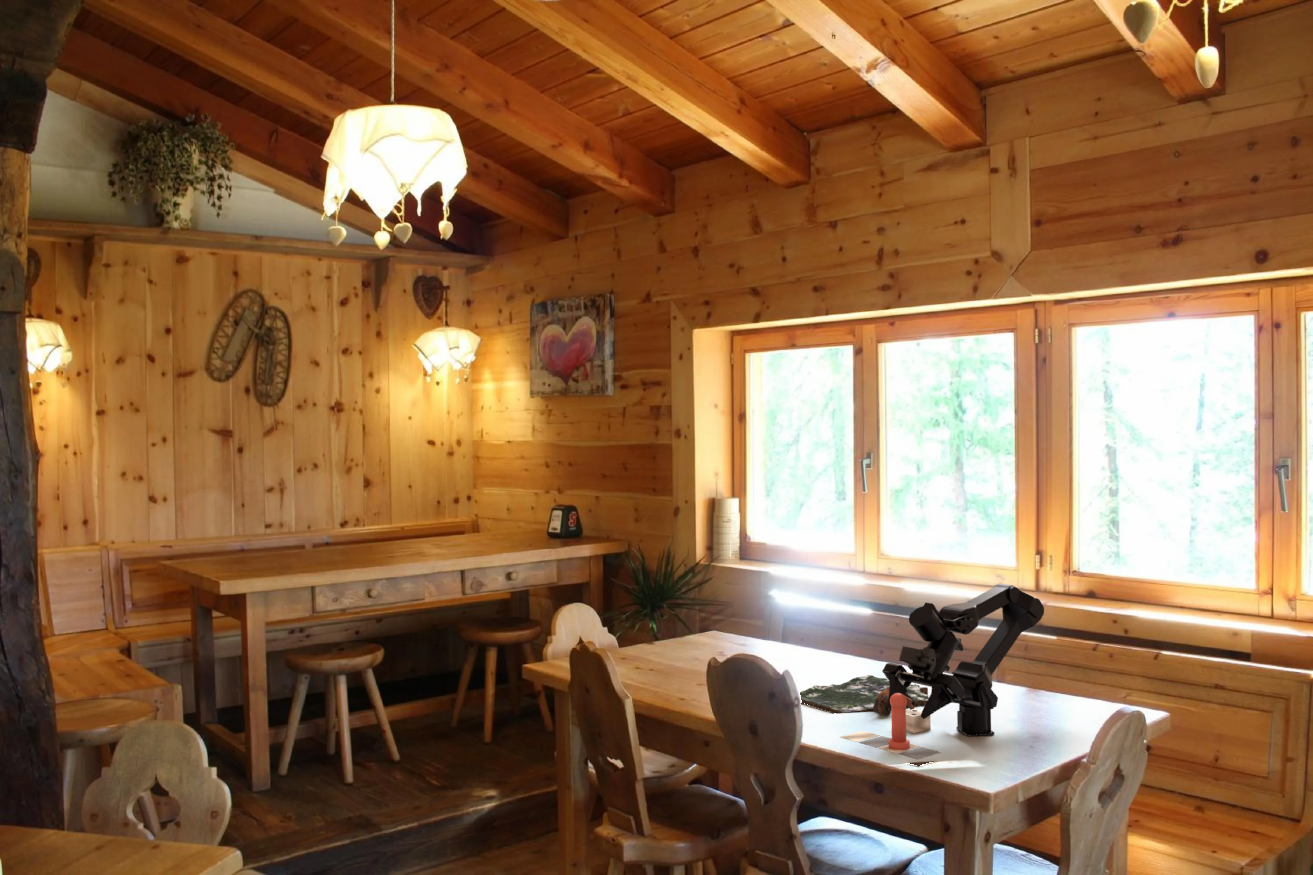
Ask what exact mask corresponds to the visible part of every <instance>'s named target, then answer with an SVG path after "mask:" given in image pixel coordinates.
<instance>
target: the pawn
mask: <svg viewBox="0 0 1313 875" xmlns="http://www.w3.org/2000/svg"><path fill="white" fill-rule="evenodd" d="M890 705H891V713H890V715H891V739H889V744H888V745H889V748H891V749H894V750H907V749H909V748H910V744H911V742H910V739H908V738H907V730H906V710H907V708H906V705H907V699H906V697H905V696H904V695H903V694H901V693H895V694H893V695H892V696H891V698H890ZM907 751H908V750H907Z"/></svg>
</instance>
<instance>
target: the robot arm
mask: <svg viewBox="0 0 1313 875" xmlns="http://www.w3.org/2000/svg"><path fill="white" fill-rule="evenodd" d="M1000 609H1001V612H1002V614H1001V615H1002V621H1001V622H1000V623H999V624H998V627H996V629H995V630H994V632H993V633H992V635H991V636H990V637H989V638H988V640H987V642H986V643H985V645H983V647H982V648H981V650H979V652H978V654H977V656H976V657H975V658H974V659H973V661H972V662H969V661H964V660H963V661H961V662H959V663H958V665H957V667H956V668H955V669H954V670H953V671H952V672H951V674H946V673H944V672H949V671H950V668H951V667H950V666H949V665H948V664H949V663H950V660H951V659H952V657H953V655H954V654H955V651H960V652H963V651H964V645H963V644H962V639H961V638H959V637H957V636H956V635H955V634H959V635H969V634H971V633H972V632H973V631H974V630H975V629H976V628H977V627H978V626H979V623H980V620H982V619H983V618H985V617H987V616H989V615H991V614H993V613H994V612H996V611H998V610H1000ZM1044 614H1045V608H1044V605H1043V603H1042V602H1041V600H1040V598H1038V597H1034V596H1033V595H1030V594H1028V593H1026V592H1024V591H1022V590H1020V589H1019V588H1018V587H1016V586H1015V585H1013V584H1004V583H997V584H995V585H994V586H993V587H992V588H989V590H987V591H985V592H983V593H981V594H979V595H977V596H976V597H973V598H972V599H969V600H968V601H966V602H965V601H964V602H960V603H952V604H948V605H944V606H943V607H941V609H940V610H939V611H938V609H937V608H936V606H935V604H934V603H931V602H925V603H924V605H922V606H919V607H916V609H914V610H913V611H911V612H910V614H909V617H908V622H909V624H910V625H911V627H912V628H913V629H914V630H915V632H916V633H917V634H918V636H919V637H920V638H921V639H922V641H924V642H927V643H926V646H925V647H923V648H915V647H908V646H906V645H905V646H904V645H903V646H902V647H901V651H900V654H899V658H898V660H899V661H900V662H904V663H906V664H907V668H908V669H909V670H910V671H912V673H911V672H909V671H907V670H906V668H905V667H904V666H903V665H902V664H898V663H893V662H888V663H886V664H885V665H884V667H883V669H882V671H881V672H882V673H883V675H884V676H885V678H886V679H887V680H888V681H889V683H890V690H889V697H888V705H887V708H888V709H889V710H891V705H890V698H891V696H892V695H893V694H895V693H901V694H903V695H905V694H906V692H907V691H908V690H907V689H906V688H907V687H909V686H910V684H911V685H912V683H913V684H916V685H920V686H921V685H922V686H924V687H931V690H930V691H931V692H930V695H929V696H928V698H929V699H928V701H927V703H926V705H925V706H923V709H922V710H921V711H922V713H921V717H922V718H923V719H925V718H927V717H928V716H930V717H931V715H933V714H934V713H935V712H937V711H939V710H941V709H942V708H944V707H946V706H948V705H949V704H951V703H952V704H958V707H959V708H958V709H959V710H957V712H956V714H957V717H956V718H957V725H956V729H957V731H960V733H962V734H964V735H965V736H968V737H975V736H976V737H977V736H992V735H995V734H996V732H994V731H993V730H992V711H991V710H994V709H995V708H997V706H998V701H999V698H998V696H997V695H996V693H995V692H994V691H993V690H992V687H993V674H994V672H995V671H996V670H997V668H998V667H999V666H1000V664H1001V662H1003V659H1004V658H1005V656H1006V655H1007V654H1008V652H1010V649H1011V648H1012V647H1013V646H1014V644H1015V643H1016V641H1017V639H1018V638H1019V636H1020V635H1021V634H1022V633H1023V632H1026V631H1028V630H1030V629H1032V628H1034V627H1035V626H1036V625H1037V624H1038V623H1039V622H1040V621H1041V619H1042V618H1043V616H1044ZM954 633H955V634H954Z"/></svg>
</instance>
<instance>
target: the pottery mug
mask: <svg viewBox="0 0 1313 875" xmlns="http://www.w3.org/2000/svg"><path fill="white" fill-rule="evenodd" d="M889 690H890V686H889V688H888V689H886V690H884V691H882V692H880V694H879V695H878V696H877V698H876V700H875V703H874V707H873V712H872V713H877V714H880V715H882V716H890V715H891V710H889V709H888V708H887V705H888V697H889ZM904 696H905V697H906V699H907V705H906V706H908V707H910V708H909V710H912V709H915V707H914V704H915V703H916V701H915V700H914V699H913V698H912V697H911V696H909V695H908V694H905V695H904Z"/></svg>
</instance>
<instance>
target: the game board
mask: <svg viewBox="0 0 1313 875" xmlns="http://www.w3.org/2000/svg"><path fill="white" fill-rule="evenodd" d="M840 738H841V739H844V740H848V741H851V742H855V743H859V744H863V745H865V746H869V747H872V748H876V749H877V748H878V749H880V750H883V751H887V752H891V753H894V754H898V755H901V756H905V757H906V758H907V757H908V758H910V759H915V760H921V759H923V758H927V757H931V756H933V755H937V754H941V752H942V751H938V750H934V749H930V748H927V747H923V746H920V745H916V744H913V743H910V748H909V749H907V750H894V749H891V748H889V739H891V738H892V737H891V738H890V737H887V736H884V735H883V736H882V735H880V734H876V733H872V732H870V731H869V732H868V731H865V730H861V731H857V732H853V733H849V734H847V735H846V734H845V735H843V736H840ZM934 761H935V760H930V761H914V762H911V761H910V762H909V763H910V764H914V765H917V766H920V765H922V764H926V763H929V762H933V763H935V762H934ZM910 764H909V765H910ZM917 766H916V767H917Z"/></svg>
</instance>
